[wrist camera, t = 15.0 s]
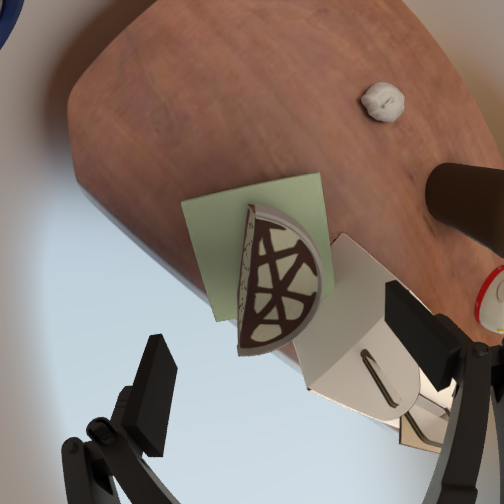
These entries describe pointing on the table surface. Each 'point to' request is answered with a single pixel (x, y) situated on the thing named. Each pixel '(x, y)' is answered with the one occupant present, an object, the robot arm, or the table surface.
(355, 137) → the table surface
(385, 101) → the garlic
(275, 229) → the food container
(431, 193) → the olive oil
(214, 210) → the stand
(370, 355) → the gable box
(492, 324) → the kitchen timer
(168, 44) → the table surface
